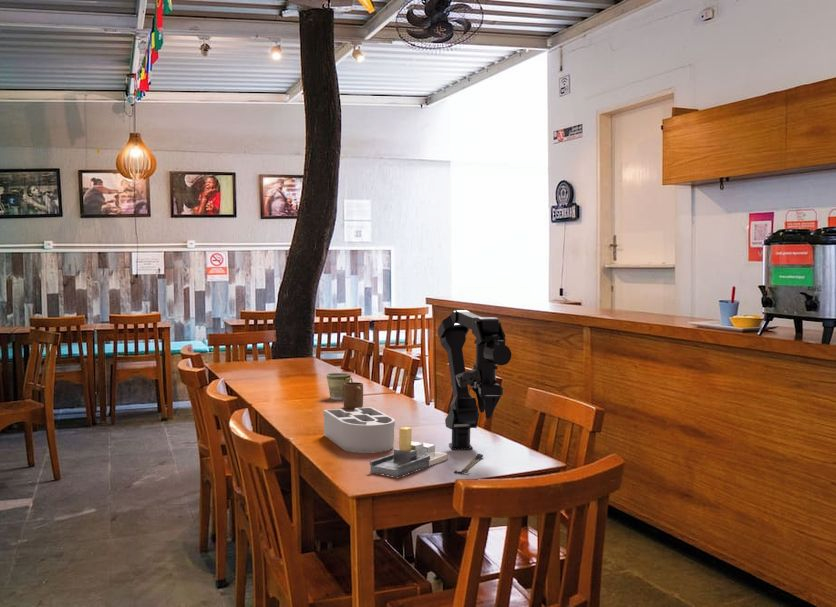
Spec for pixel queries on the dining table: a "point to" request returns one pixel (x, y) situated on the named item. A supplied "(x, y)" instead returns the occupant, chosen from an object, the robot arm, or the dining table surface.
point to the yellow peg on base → (405, 446)
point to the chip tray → (438, 458)
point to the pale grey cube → (417, 448)
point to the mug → (353, 395)
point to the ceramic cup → (337, 384)
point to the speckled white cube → (429, 450)
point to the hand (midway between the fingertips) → (484, 415)
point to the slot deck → (397, 466)
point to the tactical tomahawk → (469, 465)
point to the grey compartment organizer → (360, 429)
